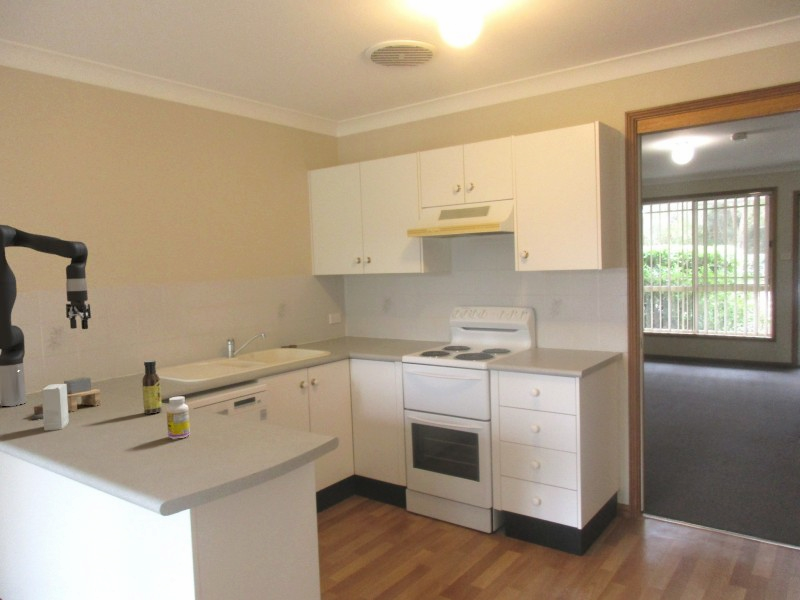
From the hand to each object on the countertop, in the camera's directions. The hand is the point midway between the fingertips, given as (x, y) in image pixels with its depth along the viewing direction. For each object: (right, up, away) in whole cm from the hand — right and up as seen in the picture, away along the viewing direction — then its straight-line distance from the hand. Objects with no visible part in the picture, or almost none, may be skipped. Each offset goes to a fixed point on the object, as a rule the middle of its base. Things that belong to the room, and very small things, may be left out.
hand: (79, 328), depth 244 cm
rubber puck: (-3, -33, -22) cm, 40 cm away
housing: (+3, -25, -6) cm, 26 cm away
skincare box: (+12, -33, -36) cm, 50 cm away
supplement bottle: (+62, -33, -53) cm, 88 cm away
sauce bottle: (+39, -31, -20) cm, 54 cm away
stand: (+3, -32, -6) cm, 32 cm away
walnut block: (-4, -33, -17) cm, 37 cm away
